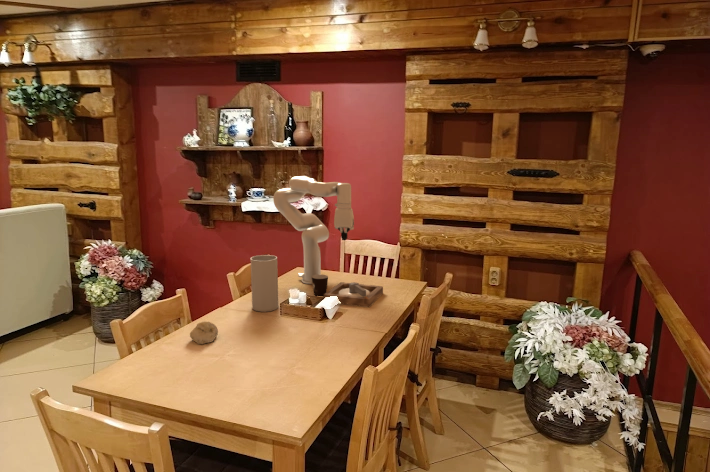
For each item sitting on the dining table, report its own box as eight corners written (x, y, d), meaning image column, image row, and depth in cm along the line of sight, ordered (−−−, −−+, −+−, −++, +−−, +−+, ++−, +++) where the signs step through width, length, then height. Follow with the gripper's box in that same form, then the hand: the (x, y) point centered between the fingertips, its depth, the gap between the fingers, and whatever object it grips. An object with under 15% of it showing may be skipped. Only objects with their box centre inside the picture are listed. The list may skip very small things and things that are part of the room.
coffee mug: (327, 297, 261) (327, 278, 259) (311, 297, 261) (310, 278, 259) (329, 290, 272) (329, 273, 271) (313, 290, 273) (313, 272, 271)
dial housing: (323, 302, 253) (323, 294, 253) (340, 289, 276) (340, 281, 275) (369, 307, 245) (369, 299, 245) (382, 293, 268) (383, 285, 267)
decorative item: (193, 324, 211) (214, 315, 210) (202, 343, 211) (223, 334, 210) (181, 331, 199) (204, 321, 198) (190, 351, 199) (213, 342, 198)
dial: (334, 291, 264) (334, 281, 263) (362, 288, 270) (362, 278, 269) (349, 303, 245) (349, 292, 244) (378, 299, 252) (379, 288, 250)
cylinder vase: (246, 309, 242) (244, 259, 237) (263, 302, 252) (261, 254, 248) (267, 314, 236) (266, 262, 231) (283, 306, 247) (282, 256, 242)
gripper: (328, 206, 269) (328, 240, 272) (355, 207, 264) (355, 242, 267) (333, 204, 276) (334, 237, 279) (359, 206, 271) (359, 239, 274)
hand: (344, 239), depth 273 cm, fingers closed
